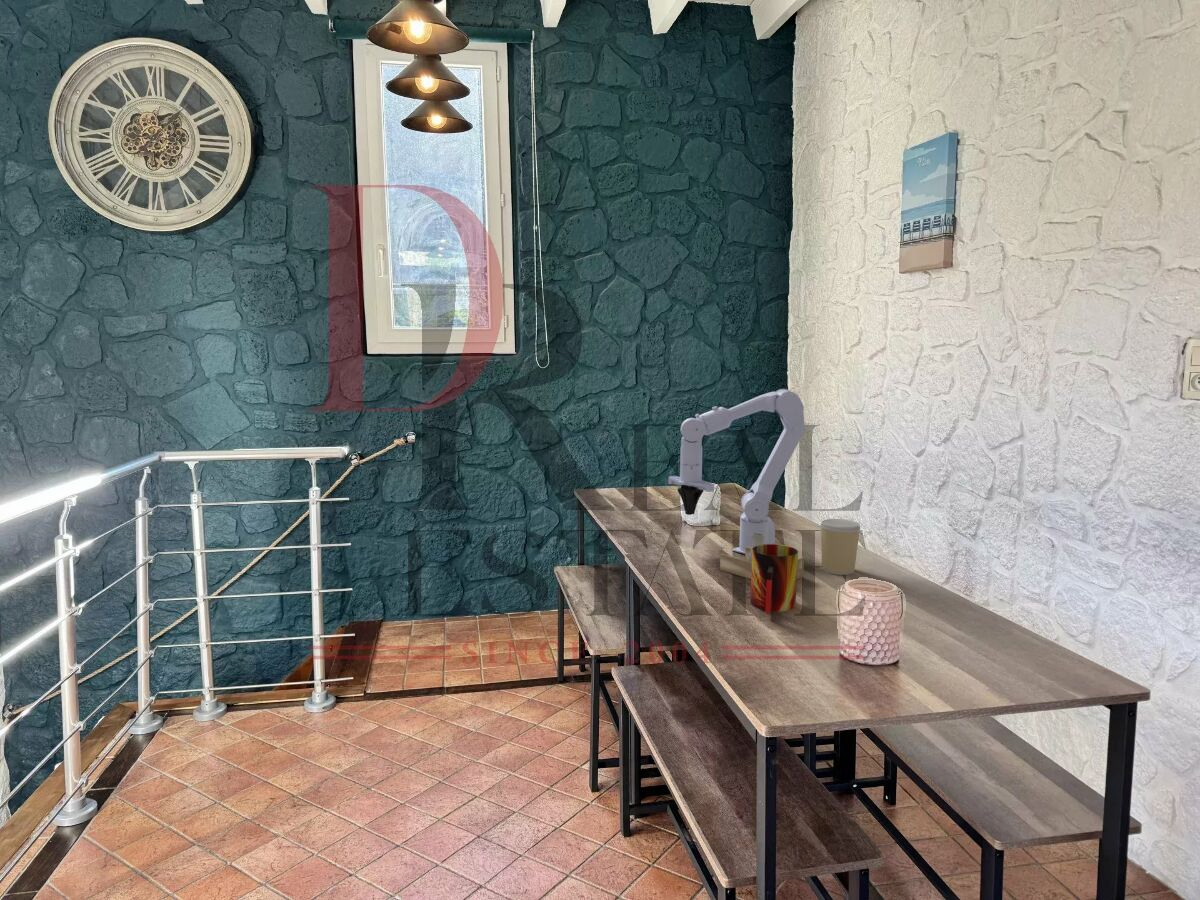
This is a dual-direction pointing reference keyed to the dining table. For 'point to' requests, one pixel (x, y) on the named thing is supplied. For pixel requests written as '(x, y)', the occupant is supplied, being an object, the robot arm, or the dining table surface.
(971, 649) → the dining table surface
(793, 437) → the robot arm
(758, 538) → the flask
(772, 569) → the mug
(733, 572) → the lane
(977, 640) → the dining table surface
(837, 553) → the coffee cup
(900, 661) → the dining table surface
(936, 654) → the dining table surface
